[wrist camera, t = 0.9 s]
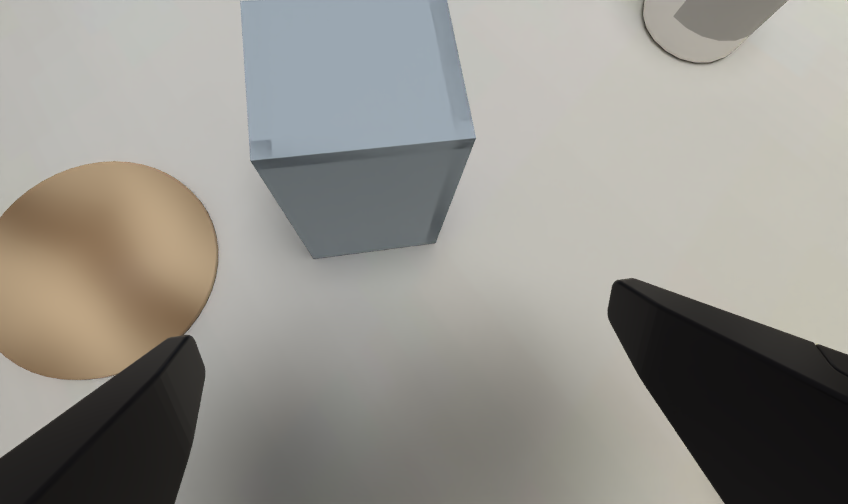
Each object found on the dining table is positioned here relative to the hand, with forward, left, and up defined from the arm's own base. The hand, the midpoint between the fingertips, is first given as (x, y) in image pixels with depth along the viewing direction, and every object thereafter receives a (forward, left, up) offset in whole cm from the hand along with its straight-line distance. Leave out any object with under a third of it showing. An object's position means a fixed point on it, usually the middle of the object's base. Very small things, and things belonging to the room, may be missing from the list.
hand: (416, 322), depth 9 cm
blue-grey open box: (+7, +4, -13) cm, 15 cm away
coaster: (-1, +15, -13) cm, 20 cm away
